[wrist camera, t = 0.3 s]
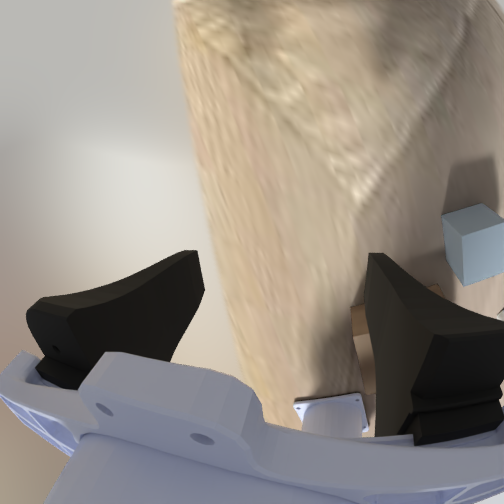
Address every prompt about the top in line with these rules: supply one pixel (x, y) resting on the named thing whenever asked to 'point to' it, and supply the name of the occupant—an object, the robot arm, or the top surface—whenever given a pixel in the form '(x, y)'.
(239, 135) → the top surface
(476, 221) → the slate-blue cube
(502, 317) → the perfume bottle
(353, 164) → the top surface
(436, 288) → the walnut block
